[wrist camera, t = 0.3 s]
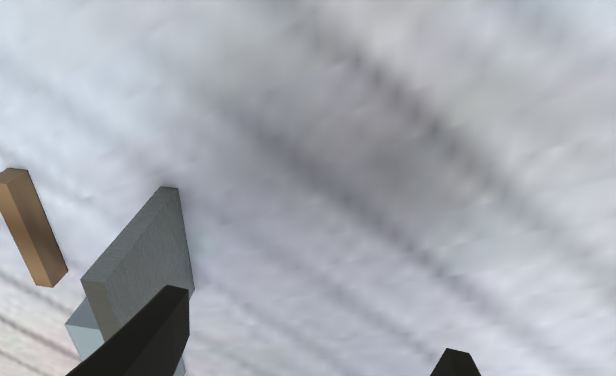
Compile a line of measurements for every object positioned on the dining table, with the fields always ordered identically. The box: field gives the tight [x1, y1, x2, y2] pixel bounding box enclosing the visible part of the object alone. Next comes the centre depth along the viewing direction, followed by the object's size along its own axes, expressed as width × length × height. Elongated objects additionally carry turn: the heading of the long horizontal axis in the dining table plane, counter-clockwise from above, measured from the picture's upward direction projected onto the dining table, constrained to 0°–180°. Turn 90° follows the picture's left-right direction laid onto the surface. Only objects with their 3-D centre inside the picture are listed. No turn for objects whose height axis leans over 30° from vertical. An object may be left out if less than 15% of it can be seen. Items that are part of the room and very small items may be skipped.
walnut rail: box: [0, 168, 68, 288], centre depth 24 cm, size 8×1×2 cm, turn 177°
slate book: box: [64, 297, 186, 376], centre depth 29 cm, size 8×6×3 cm
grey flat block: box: [80, 187, 194, 342], centre depth 21 cm, size 8×1×7 cm, turn 177°
